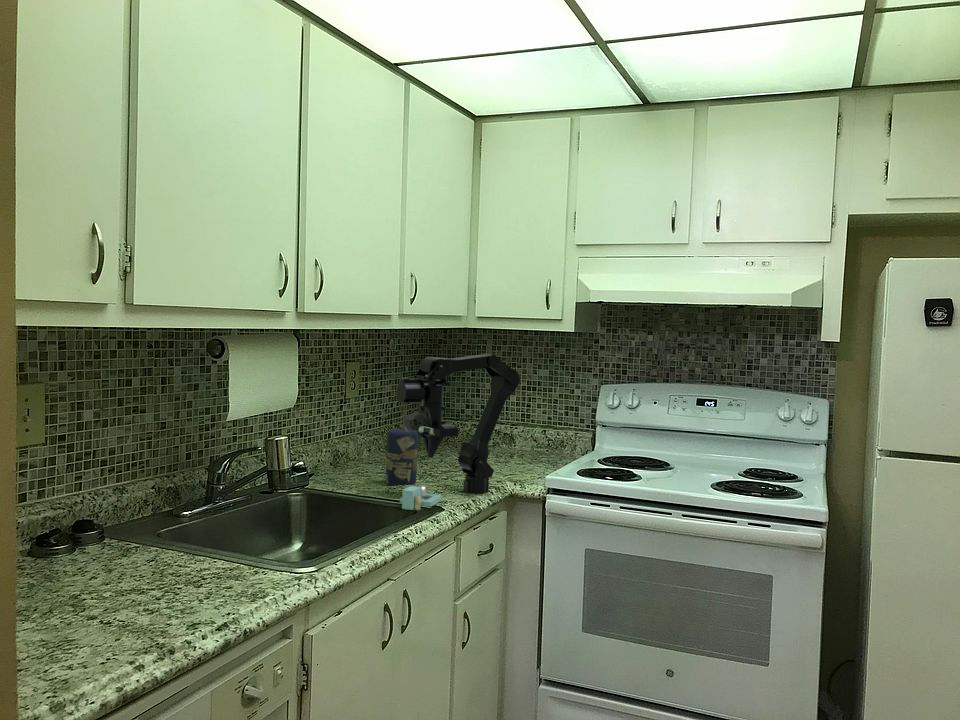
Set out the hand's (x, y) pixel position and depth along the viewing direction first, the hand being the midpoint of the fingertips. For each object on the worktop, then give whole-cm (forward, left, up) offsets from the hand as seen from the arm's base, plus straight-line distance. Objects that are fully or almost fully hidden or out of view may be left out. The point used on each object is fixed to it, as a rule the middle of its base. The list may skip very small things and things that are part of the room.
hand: (430, 457), depth 215 cm
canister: (0, -22, -13) cm, 25 cm away
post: (+4, +4, -11) cm, 13 cm away
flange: (+6, +6, -11) cm, 14 cm away
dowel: (+8, +12, -11) cm, 18 cm away
